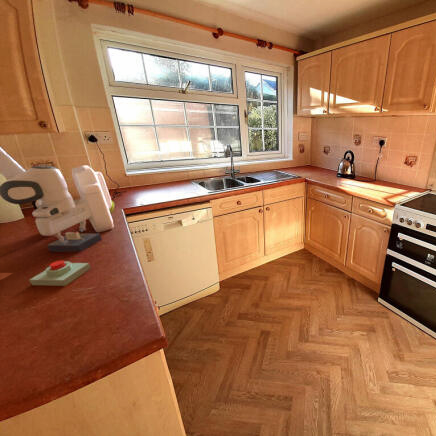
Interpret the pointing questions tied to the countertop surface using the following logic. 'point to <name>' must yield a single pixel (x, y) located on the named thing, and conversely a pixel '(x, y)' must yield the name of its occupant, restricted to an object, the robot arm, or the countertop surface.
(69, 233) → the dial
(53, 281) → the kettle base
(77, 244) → the dial panel
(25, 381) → the countertop surface
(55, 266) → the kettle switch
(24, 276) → the countertop surface
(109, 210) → the fruit
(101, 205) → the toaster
